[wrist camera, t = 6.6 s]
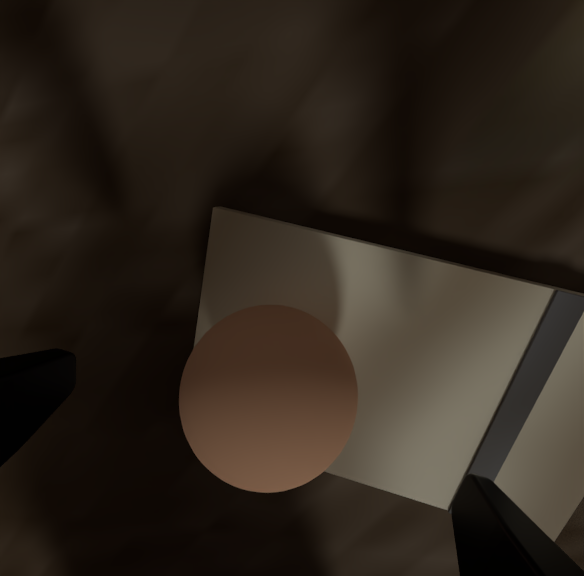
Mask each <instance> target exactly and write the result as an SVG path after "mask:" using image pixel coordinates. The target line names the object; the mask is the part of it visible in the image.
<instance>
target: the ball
mask: <svg viewBox="0 0 584 576" xmlns="http://www.w3.org/2000/svg"><path fill="white" fill-rule="evenodd" d="M357 406H358V386H357V380H356V375H355V370H354V367H353V364H352V362H351V359H350V357H349V355H348V353H347V351H346V349H345V347H344V345H343V344H342V343H341V341H340V340H339V338H338V337H337V336H336V335H335V334H334V333H333V332H332V331H331V330H330V328H328V327H327V326H326V325H325V324H324V323H322V322H321V321H320V320H318V319H317V318H315V317H314V316H312V315H310V314H308V313H306V312H304V311H302V310H299V309H296V308H293V307H288V306H283V305H258V306H253V307H248V308H245V309H242V310H239V311H237V312H234V313H232V314H230V315H228V316H226V317H225V318H223V319H222V320H221V321H219V322H218V323H216V324H215V325H214V326H213V327H211V328H210V329H209V330H208V331H207V332H206V333H205V334H204V336H203V337H202V338H201V339H200V341H199V342H198V343H197V344H196V346H195V347H194V349H193V351H192V353H191V354H190V356H189V358H188V360H187V363H186V365H185V368H184V371H183V375H182V379H181V383H180V390H179V411H180V418H181V422H182V427H183V431H184V433H185V436H186V439H187V440H188V442H189V444H190V446H191V448H192V450H193V452H194V453H195V455H196V456H197V458H198V459H199V460H200V461H201V463H202V464H203V465H204V466H205V467H206V468H207V469H208V470H209V471H210V472H212V473H213V474H214V475H216V476H217V477H218V478H220V479H221V480H223V481H224V482H226V483H228V484H230V485H232V486H235V487H237V488H240V489H244V490H248V491H253V492H263V493H272V492H281V491H286V490H289V489H293V488H296V487H299V486H301V485H303V484H305V483H308V482H309V481H311V480H312V479H314V478H316V477H317V476H318V475H320V474H321V473H322V472H324V471H325V470H326V469H327V468H328V467H329V466H330V465H331V464H332V463H333V462H334V460H335V459H336V458H337V457H338V456H339V455H340V453H341V451H342V450H343V448H344V447H345V445H346V443H347V441H348V439H349V437H350V435H351V432H352V430H353V426H354V422H355V418H356V414H357Z"/></svg>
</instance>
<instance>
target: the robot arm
mask: <svg viewBox="0 0 584 576" xmlns="http://www.w3.org/2000/svg"><path fill="white" fill-rule="evenodd" d="M75 384H76V357H75V355H74V354H73V353H71V352H68V351H65V350H62V349H50V350H44V351H39V352H33V353H28V354H22V355H17V356H11V357H6V358H0V467H1V466H2V465H3V464H4V463H5V462H6V461H7V460H8V459H9V458H10V457H11V456H12V455H14V454H15V453H16V452H17V451H18V450H19V449H20V448H21V447H22V446H23V444H24V443H25V442H26V441H27V440H28V439H29V438H30V437H31V436H32V435H33V434H34V433H35V432H36V431H37V430H38V428H39V427H40V426H41V425H42V424H43V423H44V422H45V421H46V420H47V419H48V418H49V417H50V416H51V414H52V413H53V412H54V411H55V410H56V409H57V408H58V407H59V406H60V405H61V404H62V403H63V401H64V400H65V399H66V398H67V397H68V396H69V395H70V394H71V392H72V391H73V389H74V387H75ZM451 514H452V522H453V529H454V536H455V543H456V550H457V558H458V565H459V572H460V576H584V571H583V570H582V569H581V568H580V567H579V566H578V565H577V564H576V563H575V562H574V561H573V560H572V559H571V558H570V557H569V556H568V555H567V554H566V553H565V552H564V551H563V550H562V549H561V548H560V547H559V546H558V545H557V544H556V543H555V542H554V541H553V540H552V539H551V538H550V537H549V536H547V535H546V534H545V533H544V532H543V531H542V530H541V529H540V528H539V527H538V526H537V525H536V524H535V523H534V522H533V521H532V520H531V519H530V518H529V517H528V516H527V515H526V514H525V513H524V512H523V511H522V510H521V509H520V508H519V507H518V506H517V505H516V504H515V503H514V502H513V501H512V500H511V499H510V498H509V497H508V496H507V495H506V494H505V493H504V492H503V491H502V490H501V489H500V488H499V487H498V486H497V485H496V484H495V483H494V482H493V481H492V480H490V479H489V478H486V477H483V476H480V475H476V474H473V473H469V474H467V475H466V476H465V477H464V479H463V481H462V483H461V485H460V487H459V489H458V491H457V493H456V495H455V497H454V499H453V502H452V508H451Z"/></svg>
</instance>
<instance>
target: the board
mask: <svg viewBox="0 0 584 576" xmlns="http://www.w3.org/2000/svg"><path fill="white" fill-rule="evenodd" d="M258 305H283V306H288V307H293V308H296V309H299V310H302V311H304V312H306V313H308V314H310V315H312V316H314V317H315V318H317V319H318V320H320V321H321V322H322V323H324V324H325V325H326V326H327V327H328V328H330V330H331V331H332V332H333V333H334V334H335V335H336V336H337V337H338V338H339V340H340V341H341V343H342V344H343V345H344V347H345V349H346V351H347V353H348V355H349V357H350V359H351V362H352V364H353V367H354V370H355V375H356V380H357V386H358V406H357V414H356V418H355V422H354V426H353V430H352V432H351V435H350V437H349V439H348V441H347V443H346V445H345V447H344V448H343V450H342V451H341V453H340V455H339V456H338V457H337V458H336V459H335V460H334V462H333V463H332V464H331V465H330V466H329V467H328V468H327V469H326V470H325V472H328V473H331V474H334V475H337V476H341V477H344V478H347V479H350V480H353V481H357V482H360V483H363V484H366V485H369V486H372V487H376V488H379V489H382V490H385V491H388V492H391V493H395V494H398V495H401V496H404V497H407V498H411V499H414V500H417V501H420V502H423V503H426V504H430V505H433V506H436V507H439V508H442V509H446V510H448V512H449V513H450V514H451V508H452V502H453V499H454V497H455V495H456V493H457V491H458V489H459V487H460V485H461V483H462V481H463V479H464V477H465V476H466V475H467V474H469V473H473V474H476V475H480V476H483V477H486V478H489V479H490V480H492V481H493V482H494V483H495V484H496V485H497V486H498V487H499V488H500V489H501V490H502V491H503V492H504V493H505V494H506V495H507V496H508V497H509V498H510V499H511V500H512V501H513V502H514V503H515V504H516V505H517V506H518V507H519V508H520V509H521V510H522V511H523V512H524V513H525V514H526V515H527V516H528V517H529V518H530V519H531V520H532V521H533V522H534V523H535V524H536V525H537V526H538V527H539V528H540V529H541V530H542V531H543V532H544V533H545V534H546V535H547V536H549V537H550V538H551V539H552V540H553V541H555V540H556V538H557V537H558V535H559V534H560V532H561V531H562V529H563V528H564V526H565V524H566V523H567V521H568V520H569V518H570V517H571V515H572V514H573V512H574V511H575V509H576V508H577V506H578V504H579V503H580V501H581V500H582V498H583V497H584V294H583V293H579V292H575V291H571V290H567V289H563V288H558V287H554V286H550V285H546V284H542V283H538V282H533V281H529V280H525V279H521V278H517V277H513V276H508V275H504V274H500V273H496V272H492V271H488V270H483V269H479V268H475V267H471V266H467V265H463V264H458V263H454V262H450V261H446V260H442V259H438V258H433V257H429V256H425V255H421V254H417V253H413V252H408V251H404V250H400V249H396V248H392V247H388V246H383V245H379V244H375V243H371V242H367V241H363V240H358V239H354V238H350V237H346V236H342V235H338V234H333V233H329V232H325V231H321V230H317V229H313V228H308V227H304V226H300V225H296V224H292V223H288V222H283V221H279V220H275V219H271V218H267V217H263V216H258V215H254V214H250V213H246V212H242V211H238V210H233V209H229V208H225V207H221V206H220V207H213V211H212V219H211V226H210V233H209V240H208V248H207V255H206V262H205V269H204V277H203V284H202V291H201V298H200V306H199V313H198V320H197V327H196V335H195V342H194V347H195V346H196V344H197V343H198V342H199V341H200V339H201V338H202V337H203V336H204V334H205V333H206V332H207V331H208V330H209V329H210V328H211V327H213V326H214V325H215V324H216V323H218V322H219V321H221V320H222V319H223V318H225V317H226V316H228V315H230V314H232V313H234V312H237V311H239V310H242V309H245V308H248V307H253V306H258Z"/></svg>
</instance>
